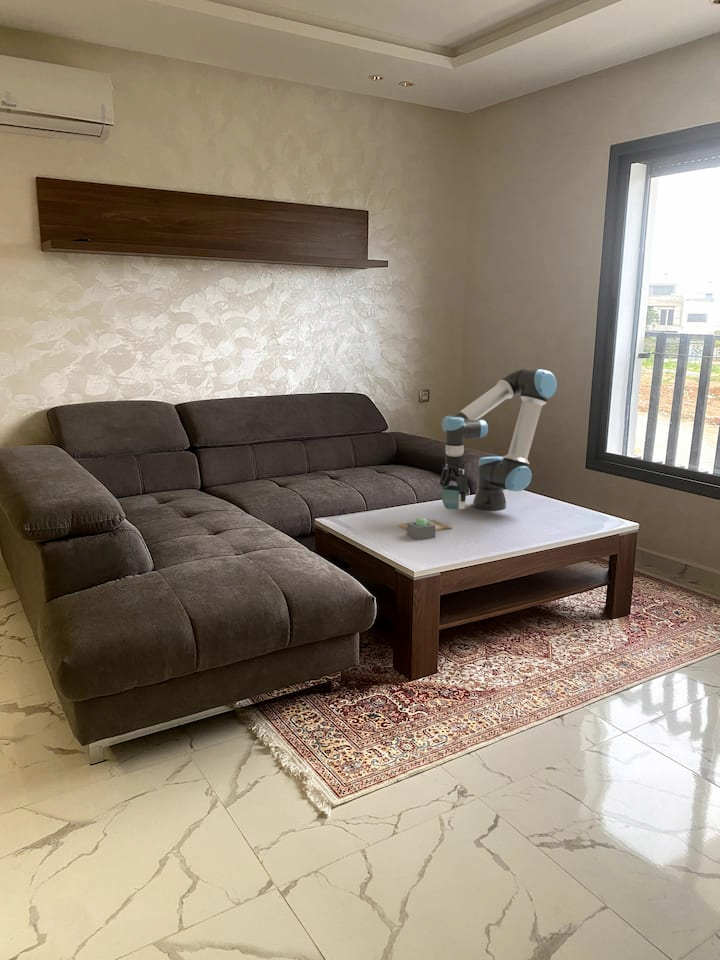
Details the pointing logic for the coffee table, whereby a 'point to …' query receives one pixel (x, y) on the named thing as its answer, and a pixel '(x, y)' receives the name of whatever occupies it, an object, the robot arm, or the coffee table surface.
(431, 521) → the board
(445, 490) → the flower pot
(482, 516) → the coffee table surface
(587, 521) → the coffee table surface
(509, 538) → the coffee table surface
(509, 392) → the robot arm
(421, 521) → the button
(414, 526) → the button box
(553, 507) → the coffee table surface
